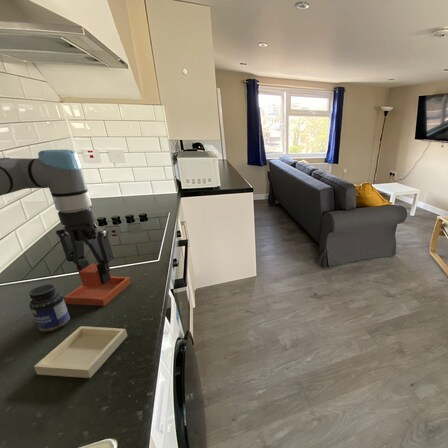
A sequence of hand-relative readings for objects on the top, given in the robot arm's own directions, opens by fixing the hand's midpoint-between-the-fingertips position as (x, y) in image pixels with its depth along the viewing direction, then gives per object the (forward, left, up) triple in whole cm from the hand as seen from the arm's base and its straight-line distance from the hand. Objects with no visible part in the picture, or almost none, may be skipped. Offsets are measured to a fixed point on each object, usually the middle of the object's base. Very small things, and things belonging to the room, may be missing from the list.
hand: (97, 281), depth 80 cm
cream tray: (+14, -22, -4) cm, 26 cm away
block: (0, 0, 0) cm, 0 cm away
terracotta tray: (0, 0, -4) cm, 4 cm away
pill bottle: (-1, -14, -4) cm, 15 cm away
